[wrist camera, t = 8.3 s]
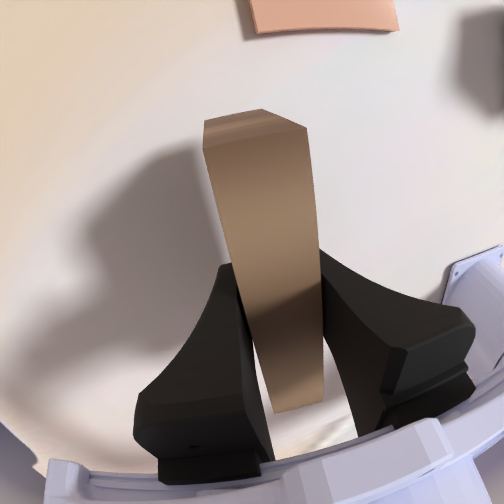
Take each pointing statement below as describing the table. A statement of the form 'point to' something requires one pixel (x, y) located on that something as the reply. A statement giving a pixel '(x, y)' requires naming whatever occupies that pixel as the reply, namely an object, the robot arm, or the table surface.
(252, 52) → the table surface
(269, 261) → the tapered tan wedge
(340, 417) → the table surface
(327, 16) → the tile
